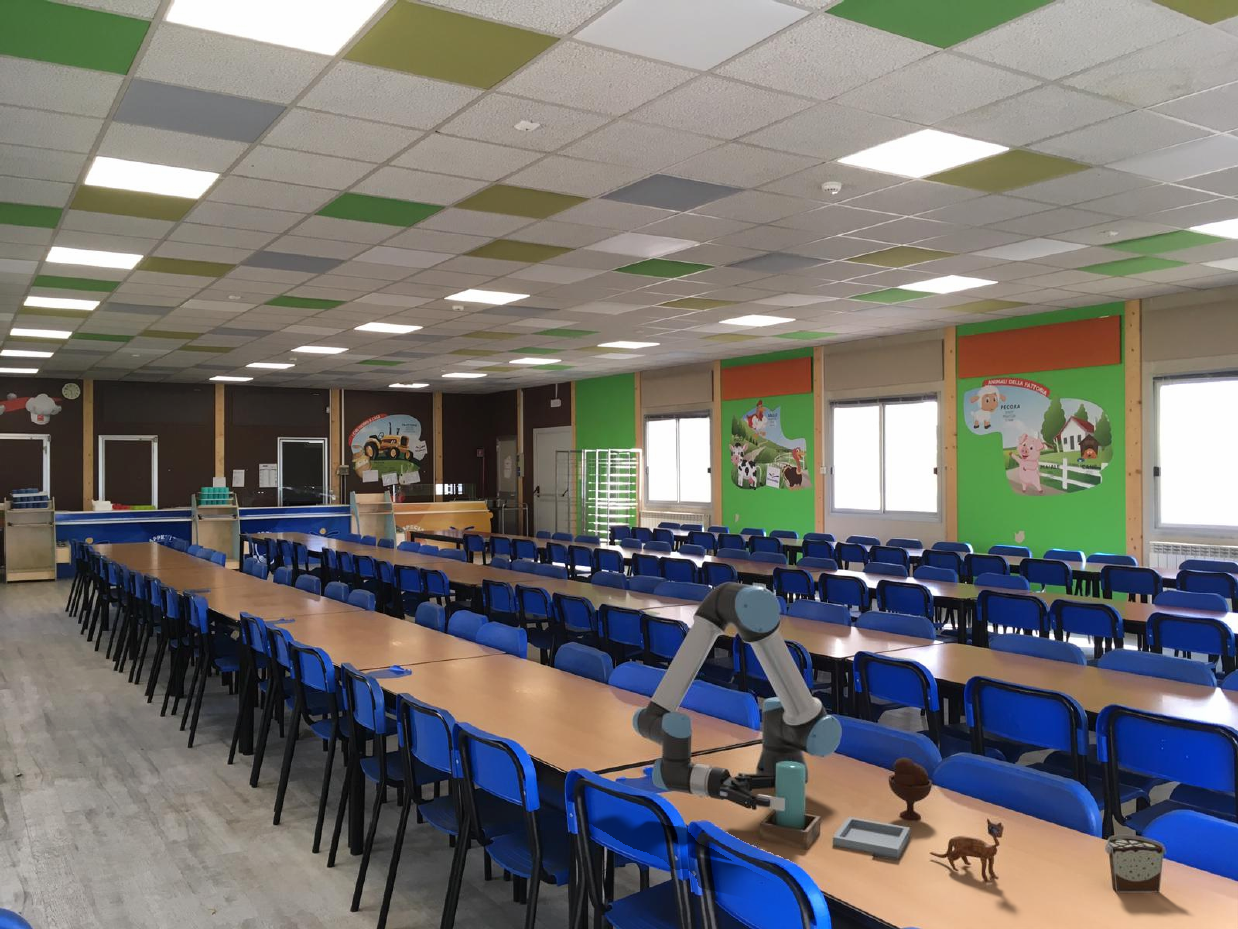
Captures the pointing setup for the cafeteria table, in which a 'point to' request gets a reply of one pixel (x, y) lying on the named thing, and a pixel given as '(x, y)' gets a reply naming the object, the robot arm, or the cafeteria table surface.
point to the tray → (872, 837)
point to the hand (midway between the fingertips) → (793, 796)
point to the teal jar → (791, 794)
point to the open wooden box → (790, 832)
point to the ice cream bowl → (910, 785)
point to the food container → (1135, 863)
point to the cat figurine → (974, 849)
